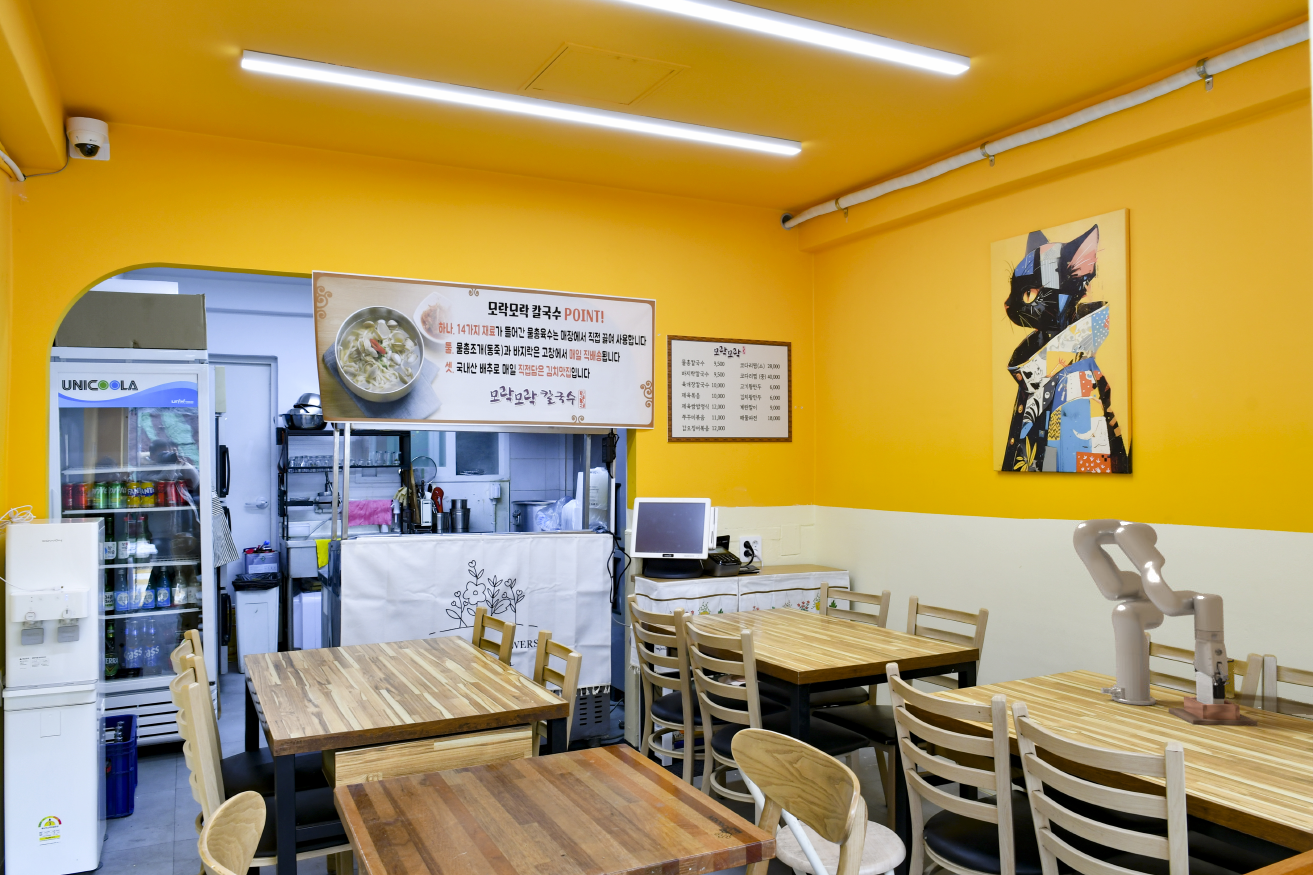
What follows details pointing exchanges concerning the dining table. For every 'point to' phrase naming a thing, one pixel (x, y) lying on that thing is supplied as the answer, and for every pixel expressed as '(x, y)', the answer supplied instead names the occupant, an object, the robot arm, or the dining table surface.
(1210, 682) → the skincare box
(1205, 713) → the caddy
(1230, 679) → the beverage can
